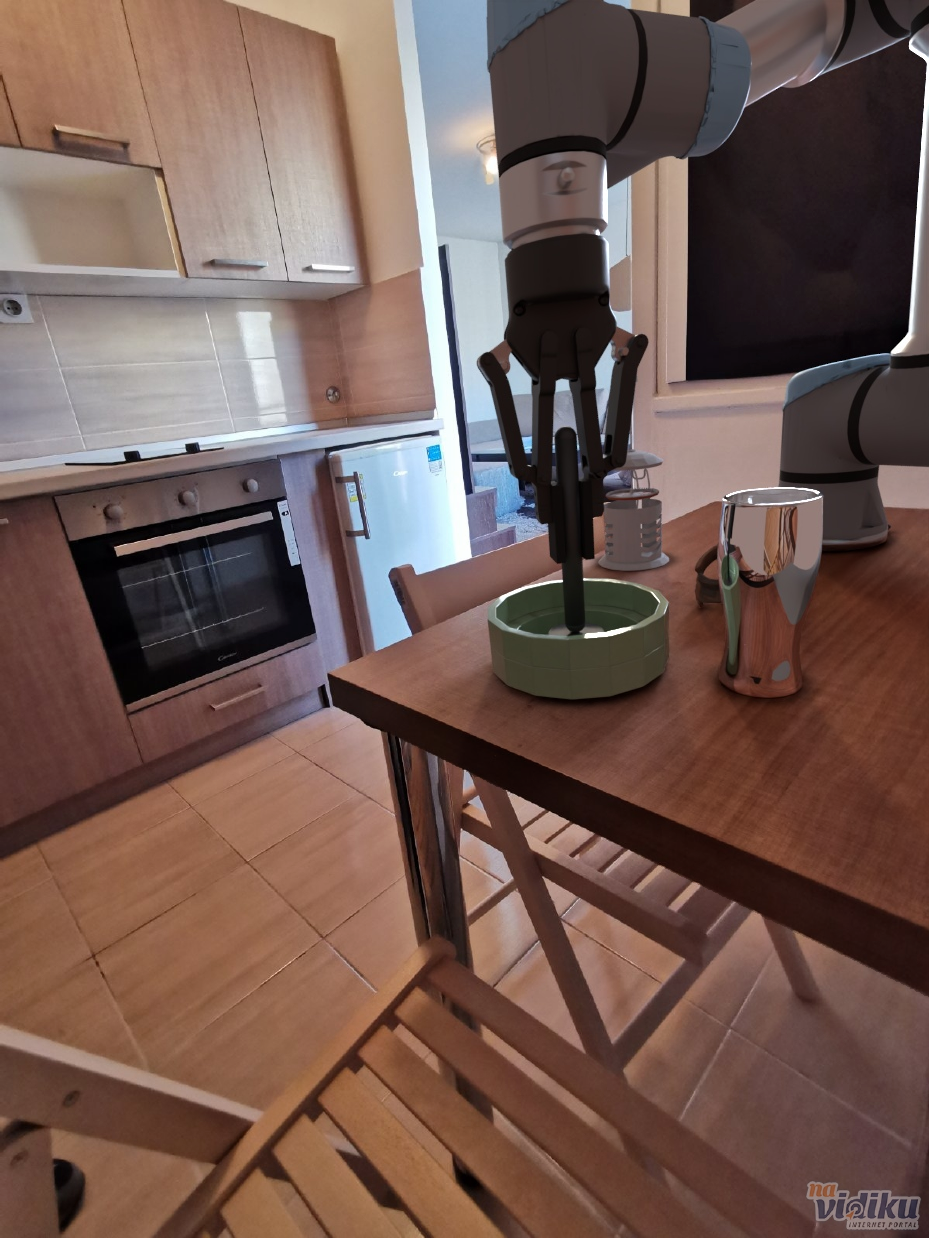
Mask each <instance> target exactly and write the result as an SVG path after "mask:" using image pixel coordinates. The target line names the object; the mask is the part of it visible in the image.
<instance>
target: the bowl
mask: <svg viewBox="0 0 929 1238" xmlns="http://www.w3.org/2000/svg"><path fill="white" fill-rule="evenodd" d="M583 580H584V602H585V623H592V624H595V625H598V626H600V627H601V628H603V630H604V633H596V634H585V635H574V636H558V635H548V632H549V631H550V629H552V628H553V627H555V626H558V625H561V624H565V613H564V596H563V579H558V580H549V581H545V582H539V583H536V584H531V585H526V586H523V587H519V588H518V589H514V590H512V591H510V592H508V593H505V594H502V595H500V596H499V597H498V598H497V599H496V600H494V601H493V602H492V603H491V604H490V605H489V606H488V607H487V627H488V628H487V629H488V635H489V645H490V654H491V655H490V656H491V663H492V672H493V674H495V675H496V677H498V678H499V679H500V680H501V681H502V682H503V683H504V684H505V685H506V686H508V687H510V688H513V689H515V690H519V691H522V692H524V693H527V694H529V695H533V696H537V697H546V698H556V699H563V700H582V699H584V700H585V699H595V698H607V697H613V696H615V695H619V694H623V693H627V692H629V691H632V690H636V689H640V688H643V687H645V686H646V685H648V684H649V683H650V682H652V681H653V680H655V679H657V678H658V677H660V675H662V674H663V673H664V672H665V671H666V668H667V664H668V661H669V657H670V602H669V601H668V599H667V598H666V597H665V596H664V595H663V594H662V593H661V592H660V590H657V589H656V588H652V587H649V586H646V585H644V584H641V583H639V582H633V581H627V580H621V579H614V578H595V577H594V578H591V577H590V578H589V577H583Z"/></svg>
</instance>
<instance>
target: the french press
mask: <svg viewBox="0 0 929 1238" xmlns="http://www.w3.org/2000/svg"><path fill="white" fill-rule="evenodd" d="M638 381H639V380H638V376H637V377H636V383H638ZM632 421H633V419H632V418H631V426H630V434H629V442H630V443H629V444H630V446H629V447H630V448H628V451H627V459H626V463H625V465H624V466H622V467H620V468H616V469H614V470H612V471H611V472H621V471H626V472H627V471H630V488H620V489H615V490H613V491H612V490H611V491H608V492H607V493H606V494H605V498H606V499H608V500H611V501H610V502H607V503H604V512H603V519H604V520H603V525H604V527H603V528H604V531H603V532H604V533H605V534H604V541H605V542H604V555H602V556H601V558H600V559H599V560H598V563H597V564H598V565H599V566H601V567H602V568H605V569H608V570H613V571H622V572H623V571H624V572H625V571H626V572H627V571H628V572H629V571H630V572H631V571H645V570H652V569H656V568H660V567H663V566H665V565H666V564H668V563H669V562H670V558H669V556H668V555H666V554H665V553H664V552H663V550H662V549H663V523H662V521H663V501H661V500H659V499H655V498H654V497H657V496H658V495H659V494H660V489H657V488H654V487H652V488H651V481H650V475H649V470H648V469H651V468H656V467H657V468H658V467H659V466H661V465H662V464H663V462H664V459H663V458H661V457H660V456H658V455H657V454H654V453H651V452H648V451H643V450H636V449H634V448H633V425H632V423H633V422H632ZM637 470H643V475H642V476H640V477H638V474H637ZM645 478H647V484H648V485H647V487H643V488H641V487H640V486H639V480H644V479H645ZM633 480H635V482H636V487H633V486H634V483H633ZM639 501H641V508H639ZM605 524H606V525H605Z"/></svg>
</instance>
